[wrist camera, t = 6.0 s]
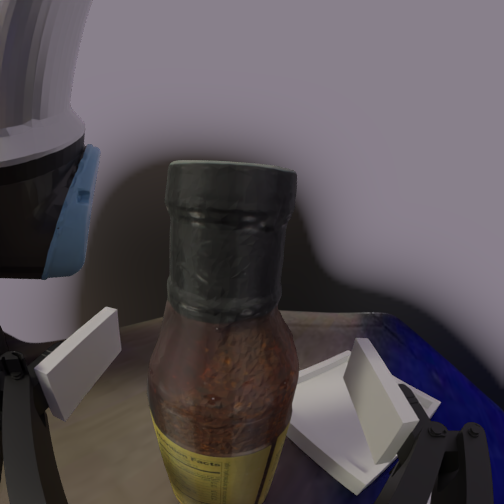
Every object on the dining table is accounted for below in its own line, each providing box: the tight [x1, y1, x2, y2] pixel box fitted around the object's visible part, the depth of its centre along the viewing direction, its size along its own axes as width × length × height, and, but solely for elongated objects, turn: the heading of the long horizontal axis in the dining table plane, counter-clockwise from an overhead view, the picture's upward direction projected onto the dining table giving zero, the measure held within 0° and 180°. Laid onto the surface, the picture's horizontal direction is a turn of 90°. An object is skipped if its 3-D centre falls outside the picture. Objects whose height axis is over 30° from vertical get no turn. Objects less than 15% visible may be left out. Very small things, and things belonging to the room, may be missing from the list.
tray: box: [286, 350, 441, 495], centre depth 22 cm, size 14×14×2 cm
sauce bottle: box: [147, 160, 299, 504], centre depth 11 cm, size 7×6×20 cm
